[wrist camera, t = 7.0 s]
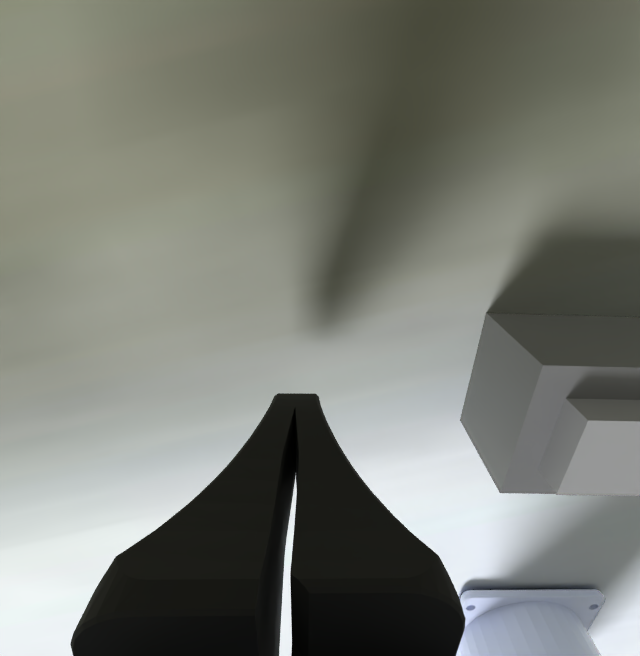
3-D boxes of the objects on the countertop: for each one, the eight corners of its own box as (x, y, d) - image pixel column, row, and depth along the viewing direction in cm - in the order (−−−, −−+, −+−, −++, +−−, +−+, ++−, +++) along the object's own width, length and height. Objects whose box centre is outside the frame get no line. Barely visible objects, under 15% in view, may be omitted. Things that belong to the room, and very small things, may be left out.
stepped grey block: (659, 420, 16) (791, 522, 12) (458, 416, 16) (514, 519, 12) (714, 317, 14) (899, 392, 10) (483, 311, 14) (564, 385, 10)
